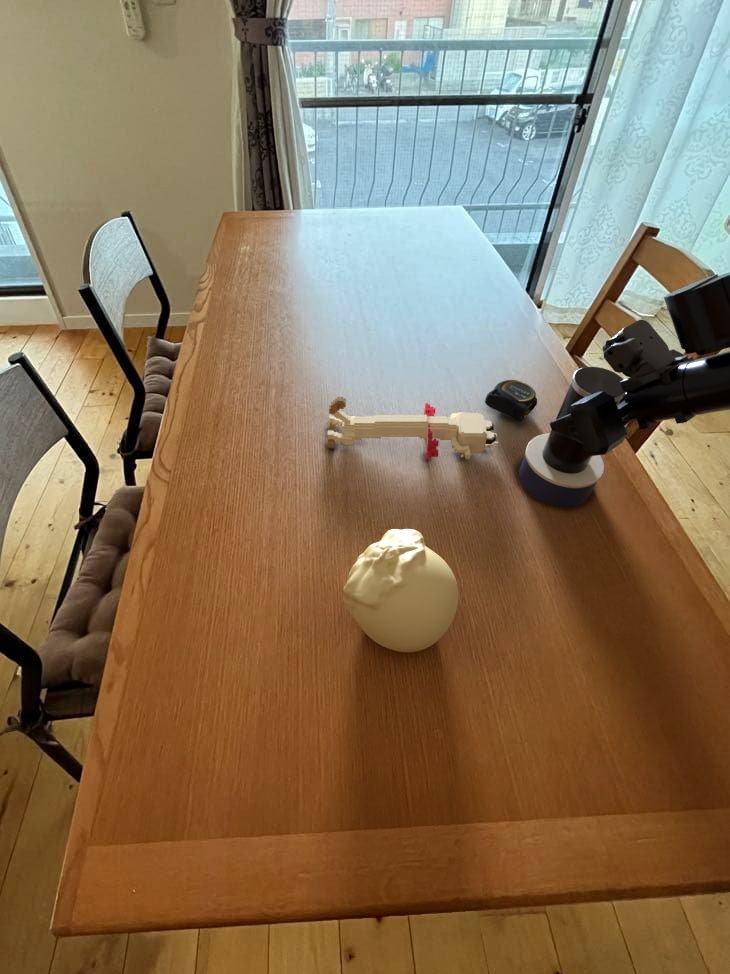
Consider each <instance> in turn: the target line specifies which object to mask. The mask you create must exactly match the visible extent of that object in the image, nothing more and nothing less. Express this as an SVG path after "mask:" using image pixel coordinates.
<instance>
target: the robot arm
mask: <svg viewBox="0 0 730 974" xmlns="http://www.w3.org/2000/svg"><path fill="white" fill-rule="evenodd" d="M663 299H664V303H665V305H666V308H667V311H668V315H669V316H670V320H671V323H672V325H673V328H674V331H675V333H676V337H677V339H678V342H679V345H680V348H681V350H684V352H685V354H686V355H684V353H682V352H680V351H678V350H676V349H674V348H673V349H670V348H669V346H668V344H667V342H665V340H664V339H663V338H662V337H661V336H660V334H659V333H658V332H657V331H656V330H655V328H654V327H653V326H652V324H651V323H650V322H648V321H647V320H646V319H638V320H635V321H634V322H633V323H632V322H631V323H630V324H629V325H627V326H625V327H623V328H622V329H621V330H619V332H617V333H616V334H615V335H614V336H612V337H611V338H609V339H607V340H606V341H605V343H604V344H603V345H602V347H601V349H602V353H603V359H604V360H605V362H606V363H607V364H608V365H609V367H610V368H611V369H612V371H613V372H614V373H617V374H620V373H622V375H623V376H625V377H627V378H623V380H622V381H620V384H621V387H622V389H623V391H624V392H626V393H625V395H624V397H623V398H622V399H621V401H620V403H619V404H618V405H617V404H616V402H615V399H614V397H613V396H611V395H609V394H608V393H606V392H604V391H602V392H598V393H594V394H592V395H589V396H588V395H587V396H586V397H584V398H582V399H580V400H579V401H577V402H575V403H574V404H573V405H571V408H570V414H569V415H566V416H564V417H562V418H559V419H557V420H556V419H555V420H552V421H551V422H549V426H550V427H549V428H550V430H552V431H554V432H556V433H559V434H561V435H564V436H566V437H569V438H571V439H574V440H576V441H578V442H580V443H582V445H583V448H584V450H585V453H586V454H587V455H589V456H597V455H600V456H604V455H606V454H609V453H610V452H611V451H612V450H614V449H615V448H617V447H618V446H620V445H621V444H623V443H624V441H625V439H626V437H627V436H628V432H627V428H626V426H627V425H628V424H630V423H631V422H633V421H634V420H636V422H637V425H638V428H639V429H640V430H645V429H650V428H651V427H653V426H654V425H656V424H657V423H658V422H663V421H669V420H675V423H676V425H678V424H684V423H687V422H689V421H691V420H692V419H693V418H694V417H696V416H700V415H706V414H711V413H716V412H717V413H718V412H723V411H729V410H730V350H728V351H724V352H720V353H716V352H719V351H722V350H726V349H728V348H729V349H730V271H729V272H726V273H723V274H718V273H717V274H713V275H711V276H707V277H706V278H705V277H704V278H703V279H700V280H697V281H696V282H693V283H690V284H688V285H686V286H684V287H681V288H679V289H676V290H674V291H672V292H670V293H668V294H666V295H664V296H663ZM712 353H716V354H712ZM689 354H696V356H704V355H709V354H712V355H709V356H705V357H701V358H696V359H694V356H688V355H689Z"/></svg>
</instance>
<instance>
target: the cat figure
mask: <svg viewBox="0 0 730 974" xmlns="http://www.w3.org/2000/svg"><path fill="white" fill-rule="evenodd" d="M346 405H347V399H346V397H345V398H344V396H337V397H336V398H335V399H333V400H332V401H331V402H330V404H329V405H328V414H329V417H328V422H329V424H328V425H329V426H328V428H329V430H327V449H335V448H336V447H335V446H336V443H341V444H343V445H344V446H353V445H354V444H355V442H356V441H361V440H362V439H382V438H419V439H421V440H422V439H427V441H426V443H427V444H426V452H425V459H426V461H429V460H431V459H433V458H439V449H438V448H437V447H439V445H440V443H439V442H440V441H450V442H451V448H452V449H453V450H454V452H456V453H457V454H460V453H461V455H460V457H461V458H465V460H470V459H471V457H472V456H473V454H480V453H482V452H483V451H485V448H486V449H487V448H488V449H489V448H491V447H494V445H495V446H496V445H497V446H498V445H499V441H497V433H494V432H493V431H494V430H495V425H494V423H493V422H492V421H490V419H489V420H487V419H485V417H484V416H485V415H483V414H482V413H480V412H465V411H459V412H452V413H450V416H445V415H444V416H443V415H441V416H440V415H439V416H438V415H436V416H435V414H436V407H434V406H431V404H430V403H428V402H426V403H424V409H423V414H375V415H374V416H370V415H369V416H359V415H358V416H357V415H349V414H347V412H345V411H343V410H345V409H344V408H346ZM337 427H341V431H342V432H341V433H339V432H338V431H337ZM438 439H439V440H438Z"/></svg>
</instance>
